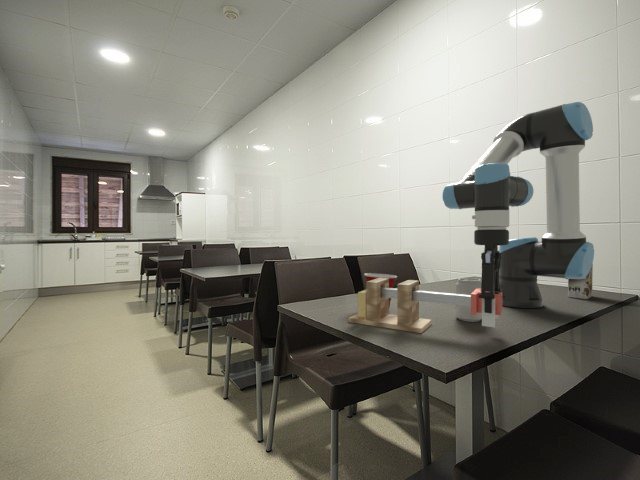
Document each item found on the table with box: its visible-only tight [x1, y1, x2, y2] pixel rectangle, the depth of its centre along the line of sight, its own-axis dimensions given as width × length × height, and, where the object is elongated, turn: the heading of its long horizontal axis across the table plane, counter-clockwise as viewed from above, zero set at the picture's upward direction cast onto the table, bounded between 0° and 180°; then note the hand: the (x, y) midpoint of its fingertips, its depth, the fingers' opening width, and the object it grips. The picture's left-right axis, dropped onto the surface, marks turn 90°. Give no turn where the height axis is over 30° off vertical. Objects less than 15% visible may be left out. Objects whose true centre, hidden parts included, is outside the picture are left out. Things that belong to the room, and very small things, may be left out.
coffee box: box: [567, 262, 594, 300], centre depth 133 cm, size 9×6×16 cm
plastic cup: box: [364, 272, 398, 309], centre depth 114 cm, size 11×11×12 cm
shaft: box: [381, 287, 503, 316], centre depth 90 cm, size 31×9×5 cm, turn 58°
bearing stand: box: [348, 278, 433, 334], centre depth 97 cm, size 21×10×12 cm, turn 58°
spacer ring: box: [357, 289, 366, 319], centre depth 101 cm, size 2×7×7 cm, turn 148°
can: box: [455, 277, 482, 323], centre depth 101 cm, size 8×8×12 cm
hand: (490, 321), depth 83 cm, fingers open, 8 cm apart
